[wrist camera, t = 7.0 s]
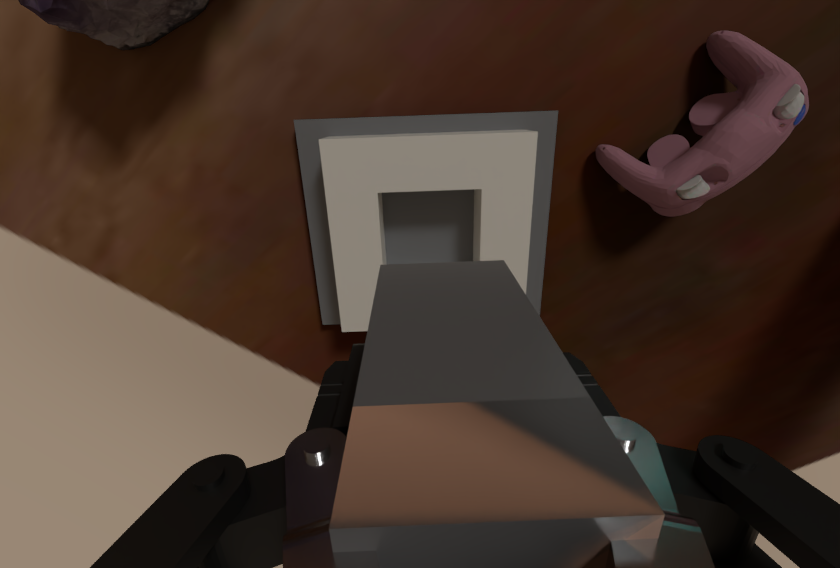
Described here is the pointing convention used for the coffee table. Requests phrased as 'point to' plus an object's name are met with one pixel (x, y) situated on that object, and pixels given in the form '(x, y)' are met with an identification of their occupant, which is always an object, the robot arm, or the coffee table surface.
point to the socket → (423, 199)
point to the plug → (478, 435)
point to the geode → (118, 18)
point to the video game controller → (718, 131)
